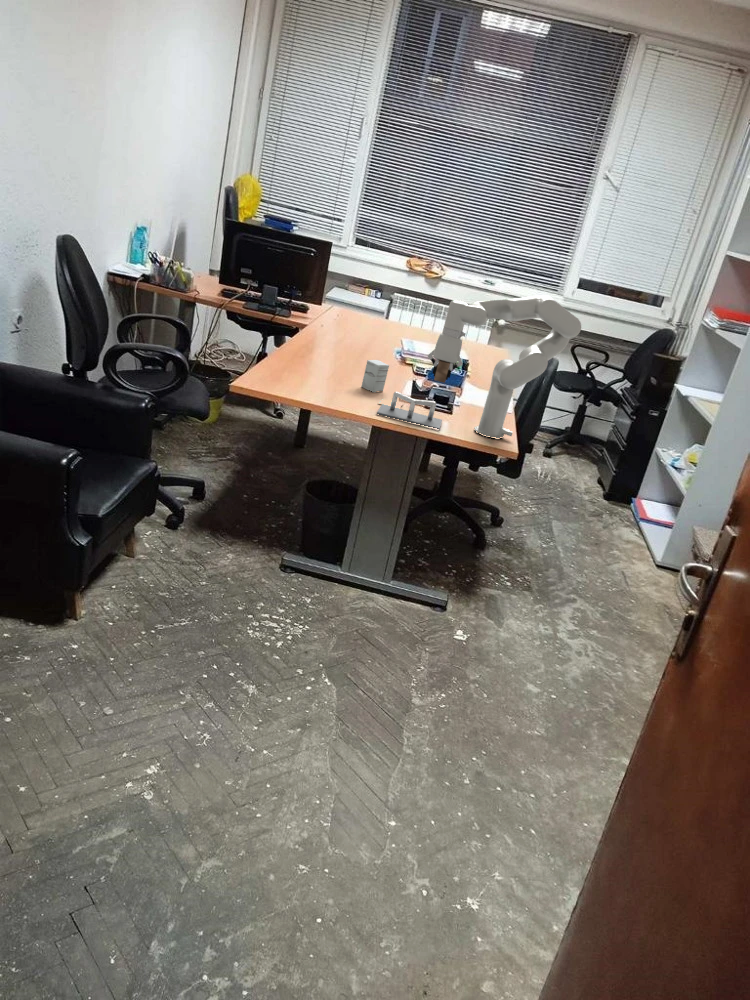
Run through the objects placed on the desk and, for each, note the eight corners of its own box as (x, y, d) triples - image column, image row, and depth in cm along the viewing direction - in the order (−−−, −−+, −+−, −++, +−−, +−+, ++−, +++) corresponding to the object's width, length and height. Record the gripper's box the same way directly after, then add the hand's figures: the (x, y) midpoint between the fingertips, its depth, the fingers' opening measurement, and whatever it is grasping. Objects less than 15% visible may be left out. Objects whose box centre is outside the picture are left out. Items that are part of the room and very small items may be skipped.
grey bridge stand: (432, 419, 312) (436, 401, 309) (430, 423, 306) (435, 405, 303) (390, 408, 313) (394, 390, 310) (387, 412, 307) (392, 394, 304)
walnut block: (445, 380, 307) (450, 361, 304) (444, 382, 303) (449, 363, 300) (434, 377, 307) (439, 358, 304) (433, 380, 303) (438, 360, 300)
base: (441, 422, 315) (442, 419, 315) (438, 431, 303) (439, 428, 303) (381, 406, 317) (382, 404, 316) (376, 414, 305) (377, 411, 304)
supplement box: (360, 387, 338) (366, 359, 333) (372, 386, 343) (378, 359, 338) (371, 392, 334) (378, 365, 329) (383, 392, 339) (389, 364, 334)
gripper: (473, 336, 300) (461, 380, 307) (432, 326, 301) (421, 370, 309) (472, 339, 293) (460, 384, 300) (430, 329, 295) (419, 374, 302)
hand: (440, 376), depth 304 cm, fingers closed on walnut block, 4 cm apart
